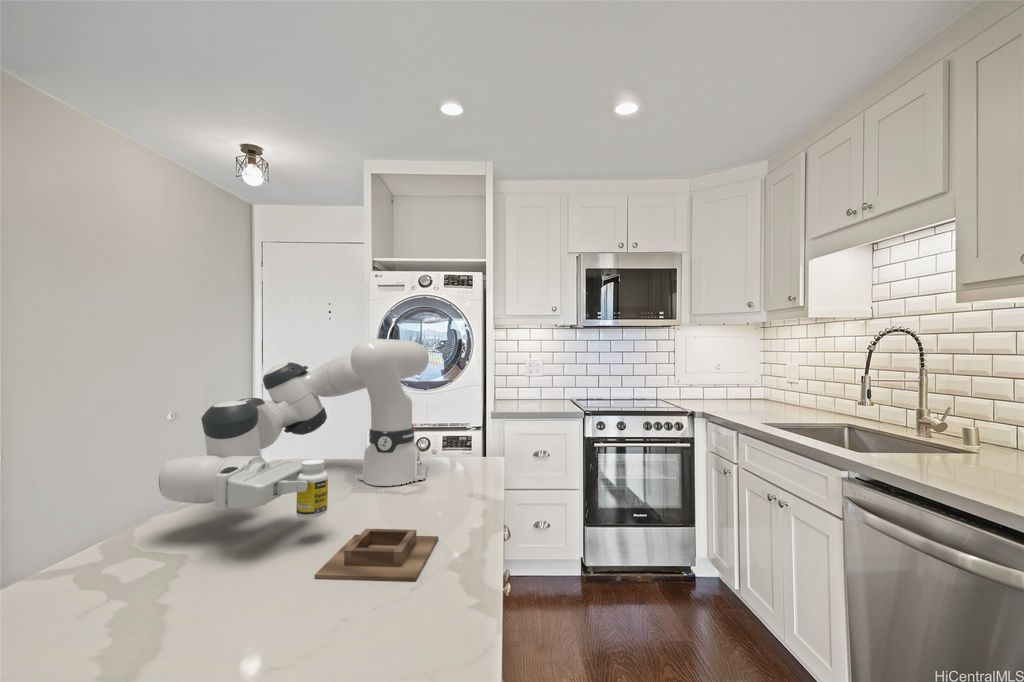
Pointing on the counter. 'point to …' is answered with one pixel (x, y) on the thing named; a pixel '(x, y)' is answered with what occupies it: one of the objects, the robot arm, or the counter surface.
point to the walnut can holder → (380, 556)
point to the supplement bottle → (313, 490)
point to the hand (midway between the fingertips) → (317, 480)
